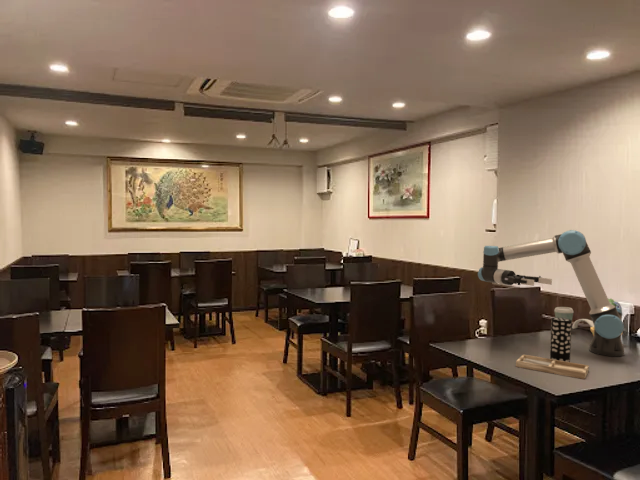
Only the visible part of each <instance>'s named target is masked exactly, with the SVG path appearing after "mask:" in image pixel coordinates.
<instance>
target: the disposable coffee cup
mask: <svg viewBox="0 0 640 480" xmlns="http://www.w3.org/2000/svg"><path fill="white" fill-rule="evenodd" d="M553 312H554V318H566V319H570V320H572V321H573V316H574V313H575V312H574V310H573V308H572V307H568V306H557V307H555V308H554V310H553Z"/></svg>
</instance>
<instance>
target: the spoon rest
mask: <svg viewBox="0 0 640 480" xmlns="http://www.w3.org/2000/svg"><path fill="white" fill-rule="evenodd" d="M580 322H585V323H587V325H589V327H594V323H593V321H592V319H588V318H579V319H577V320H575V321H574V322H573V323H572V325H571V329H573V330H575V329H578V325H579V323H580Z"/></svg>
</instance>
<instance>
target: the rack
mask: <svg viewBox="0 0 640 480" xmlns="http://www.w3.org/2000/svg"><path fill="white" fill-rule="evenodd" d="M516 367H517V368H522V369H527V370H531V371H538V372H543V373H549V374H553V373H554V374H555V375H560V376H564V377H570V378H575V379H582V380H585V379H586V377H587V375H588V373H589V368H590V365H588V364H583V363H577V362H571V361H570V362H565V361H559V360H554V359H550V358H546V357H541V356H536V355H529V354H522V355H521V356H520V357H519V358H518V359H517V360H515V368H516Z"/></svg>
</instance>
